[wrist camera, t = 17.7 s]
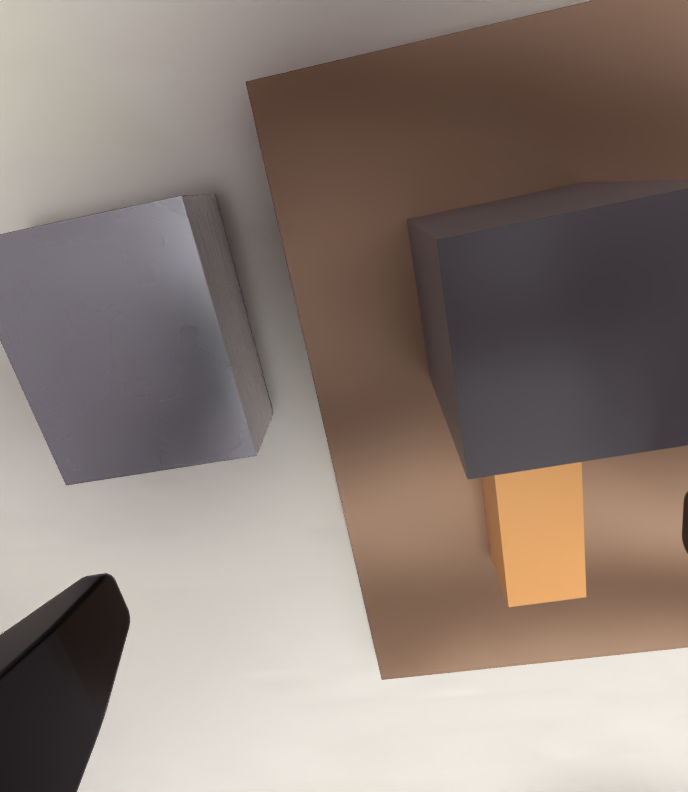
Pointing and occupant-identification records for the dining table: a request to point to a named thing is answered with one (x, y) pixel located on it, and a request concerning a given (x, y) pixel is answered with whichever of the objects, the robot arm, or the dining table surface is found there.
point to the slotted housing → (133, 339)
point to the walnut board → (402, 325)
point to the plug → (555, 354)
